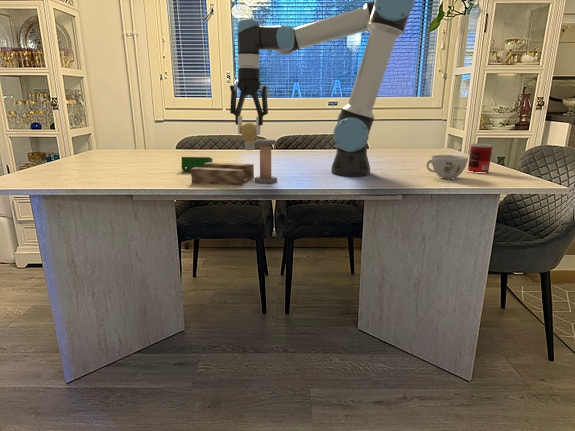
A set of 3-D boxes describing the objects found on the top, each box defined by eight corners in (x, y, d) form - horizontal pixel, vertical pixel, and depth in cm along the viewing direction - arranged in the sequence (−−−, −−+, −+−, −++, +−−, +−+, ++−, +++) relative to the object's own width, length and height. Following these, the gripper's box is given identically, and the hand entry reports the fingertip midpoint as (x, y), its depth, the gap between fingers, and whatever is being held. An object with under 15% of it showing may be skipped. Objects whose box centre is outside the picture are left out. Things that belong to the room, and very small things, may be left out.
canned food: (489, 171, 164) (493, 144, 160) (486, 174, 157) (491, 146, 154) (469, 169, 168) (473, 143, 164) (465, 172, 161) (469, 145, 158)
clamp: (208, 180, 164) (217, 160, 163) (204, 180, 158) (213, 159, 157) (181, 168, 164) (190, 148, 164) (176, 167, 158) (186, 146, 158)
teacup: (454, 174, 157) (457, 153, 155) (472, 180, 145) (475, 158, 143) (418, 175, 156) (420, 154, 153) (432, 181, 144) (435, 159, 141)
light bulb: (238, 150, 148) (237, 123, 146) (246, 148, 154) (245, 122, 151) (254, 151, 146) (253, 123, 143) (261, 149, 152) (260, 122, 149)
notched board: (253, 177, 148) (253, 164, 147) (241, 185, 135) (240, 171, 134) (208, 175, 152) (207, 162, 151) (191, 183, 139) (190, 168, 137)
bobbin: (279, 179, 145) (279, 139, 141) (273, 184, 138) (273, 141, 134) (258, 178, 147) (257, 138, 143) (251, 183, 139) (250, 141, 135)
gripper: (277, 68, 143) (277, 134, 150) (227, 68, 147) (228, 132, 154) (272, 67, 136) (271, 136, 143) (219, 66, 140) (220, 134, 147)
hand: (249, 134), depth 148 cm, fingers closed on light bulb, 6 cm apart
